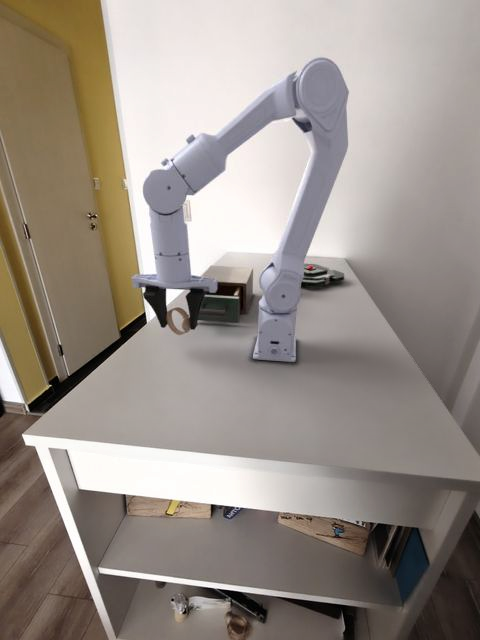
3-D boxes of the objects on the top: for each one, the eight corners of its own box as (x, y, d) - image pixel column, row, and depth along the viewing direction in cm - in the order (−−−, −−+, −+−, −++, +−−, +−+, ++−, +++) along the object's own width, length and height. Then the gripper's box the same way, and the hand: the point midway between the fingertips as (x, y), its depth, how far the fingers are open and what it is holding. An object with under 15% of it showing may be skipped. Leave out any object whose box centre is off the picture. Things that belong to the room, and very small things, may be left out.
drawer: (235, 331, 70) (235, 306, 67) (187, 328, 71) (185, 302, 68) (246, 303, 85) (246, 281, 82) (206, 300, 86) (205, 278, 83)
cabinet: (246, 313, 81) (246, 283, 77) (199, 310, 82) (197, 280, 78) (252, 294, 93) (253, 267, 89) (212, 292, 94) (210, 265, 90)
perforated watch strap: (183, 339, 60) (181, 313, 58) (165, 332, 63) (161, 307, 60) (193, 333, 62) (191, 309, 60) (175, 327, 65) (172, 303, 62)
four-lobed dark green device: (269, 276, 108) (270, 262, 106) (309, 269, 118) (311, 256, 116) (308, 292, 96) (309, 277, 94) (349, 282, 106) (351, 268, 103)
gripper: (219, 249, 58) (222, 320, 65) (139, 245, 59) (150, 315, 66) (210, 258, 52) (214, 336, 59) (121, 254, 53) (134, 330, 60)
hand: (179, 326), depth 62 cm, fingers closed on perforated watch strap, 5 cm apart
